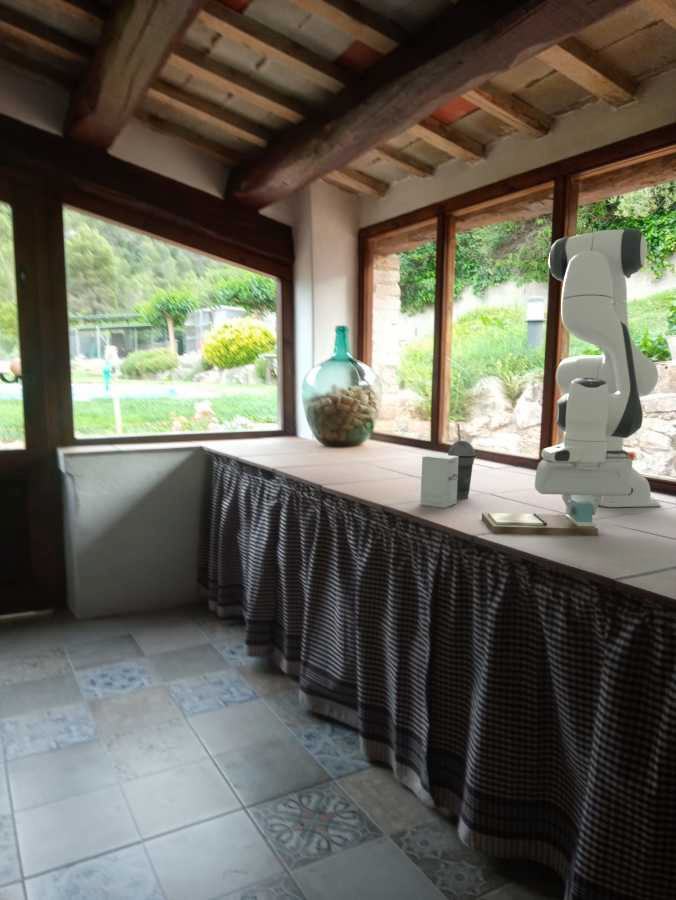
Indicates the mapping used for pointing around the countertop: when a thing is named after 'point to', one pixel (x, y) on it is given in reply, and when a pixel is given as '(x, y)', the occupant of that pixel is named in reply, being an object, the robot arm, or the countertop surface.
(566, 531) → the board
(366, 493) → the countertop surface
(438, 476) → the supplement box
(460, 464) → the beverage cup
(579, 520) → the teal and white block
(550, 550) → the countertop surface
